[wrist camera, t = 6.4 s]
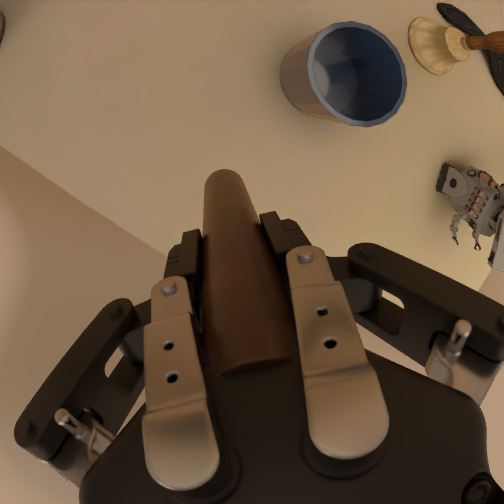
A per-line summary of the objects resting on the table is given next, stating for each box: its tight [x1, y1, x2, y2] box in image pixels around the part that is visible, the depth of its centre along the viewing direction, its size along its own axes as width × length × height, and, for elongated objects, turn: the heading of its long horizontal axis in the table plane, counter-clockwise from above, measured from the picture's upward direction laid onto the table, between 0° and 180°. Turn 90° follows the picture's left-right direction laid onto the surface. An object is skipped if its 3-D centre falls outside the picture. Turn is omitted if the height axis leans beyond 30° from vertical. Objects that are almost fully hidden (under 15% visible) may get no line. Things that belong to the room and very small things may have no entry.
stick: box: [202, 169, 297, 376], centre depth 13 cm, size 3×3×16 cm
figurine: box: [436, 163, 504, 272], centre depth 28 cm, size 9×12×15 cm
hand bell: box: [408, 18, 504, 75], centre depth 16 cm, size 8×8×16 cm
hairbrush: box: [437, 3, 504, 95], centre depth 21 cm, size 8×4×25 cm
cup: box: [280, 21, 407, 127], centre depth 21 cm, size 9×9×9 cm
